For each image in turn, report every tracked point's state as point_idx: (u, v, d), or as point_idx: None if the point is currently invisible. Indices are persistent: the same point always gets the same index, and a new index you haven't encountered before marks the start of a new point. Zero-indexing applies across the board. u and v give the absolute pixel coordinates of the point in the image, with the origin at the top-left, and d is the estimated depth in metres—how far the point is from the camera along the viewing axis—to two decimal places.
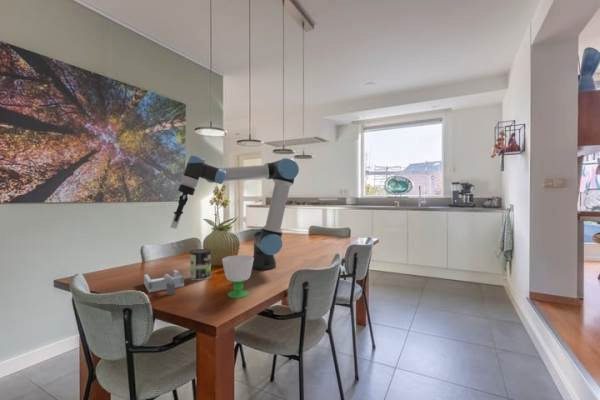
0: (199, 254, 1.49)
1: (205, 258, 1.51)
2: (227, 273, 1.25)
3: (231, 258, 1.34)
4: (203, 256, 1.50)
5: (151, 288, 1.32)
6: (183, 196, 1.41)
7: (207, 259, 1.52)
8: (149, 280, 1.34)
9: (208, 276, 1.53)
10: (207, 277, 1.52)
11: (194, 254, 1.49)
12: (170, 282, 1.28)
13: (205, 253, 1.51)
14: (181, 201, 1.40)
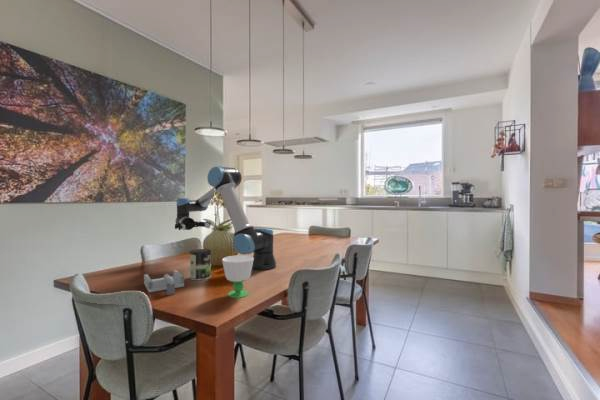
0: (199, 254, 1.49)
1: (205, 258, 1.51)
2: (227, 273, 1.25)
3: (231, 258, 1.34)
4: (203, 256, 1.50)
5: (151, 288, 1.32)
6: None
7: (207, 259, 1.52)
8: (149, 280, 1.34)
9: (208, 276, 1.53)
10: (207, 277, 1.52)
11: (194, 254, 1.49)
12: (170, 282, 1.28)
13: (205, 253, 1.51)
14: None
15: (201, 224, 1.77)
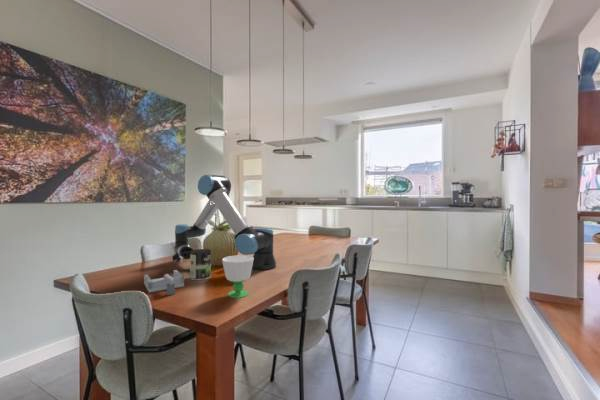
0: (199, 254, 1.49)
1: (205, 258, 1.51)
2: (227, 273, 1.25)
3: (231, 258, 1.34)
4: (203, 256, 1.50)
5: (151, 288, 1.32)
6: None
7: (207, 259, 1.52)
8: (149, 280, 1.34)
9: (208, 276, 1.53)
10: (207, 277, 1.52)
11: (194, 254, 1.49)
12: (170, 282, 1.28)
13: (205, 253, 1.51)
14: None
15: None
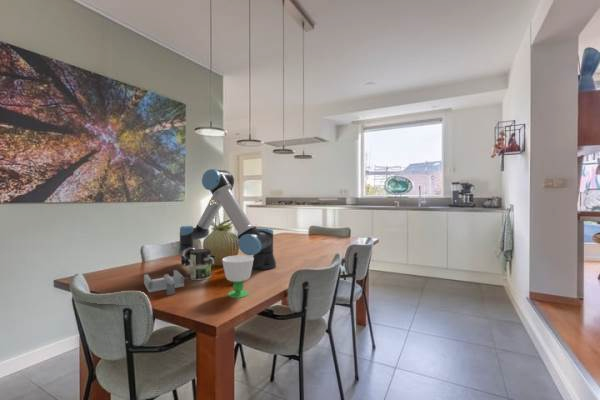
0: (199, 254, 1.49)
1: (205, 258, 1.51)
2: (227, 273, 1.25)
3: (231, 258, 1.34)
4: (203, 256, 1.50)
5: (151, 288, 1.32)
6: (181, 259, 1.60)
7: (207, 259, 1.52)
8: (149, 280, 1.34)
9: (208, 276, 1.53)
10: (207, 277, 1.52)
11: (194, 254, 1.49)
12: (170, 282, 1.28)
13: (205, 253, 1.50)
14: None
15: None
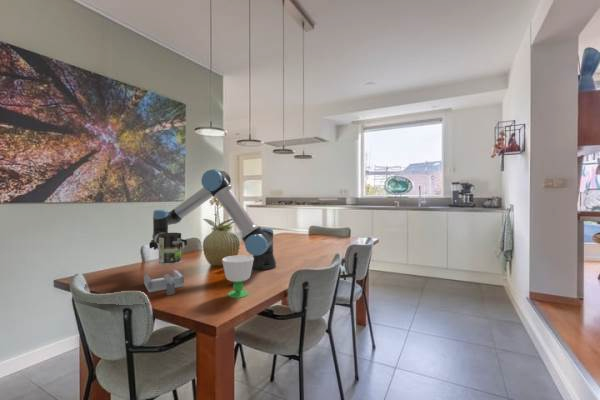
0: (167, 237, 1.40)
1: (174, 241, 1.41)
2: (227, 273, 1.25)
3: (231, 258, 1.34)
4: (172, 239, 1.41)
5: (151, 288, 1.32)
6: None
7: (176, 242, 1.42)
8: (149, 280, 1.34)
9: (178, 261, 1.43)
10: (176, 262, 1.43)
11: (162, 237, 1.40)
12: (170, 282, 1.28)
13: (174, 236, 1.41)
14: None
15: None
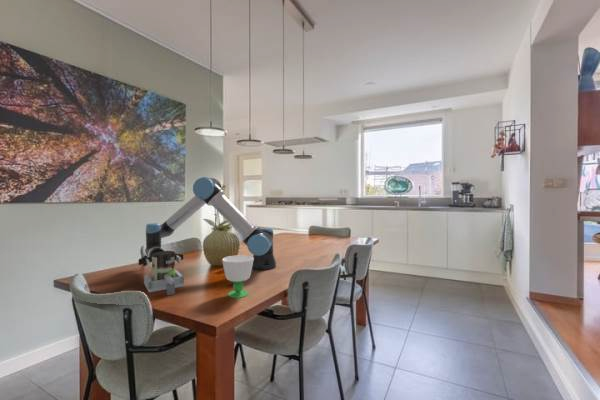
0: (160, 257, 1.37)
1: (168, 261, 1.38)
2: (227, 273, 1.25)
3: (231, 258, 1.34)
4: (165, 259, 1.38)
5: (151, 288, 1.32)
6: None
7: (170, 262, 1.39)
8: (149, 280, 1.34)
9: None
10: None
11: (155, 256, 1.37)
12: (170, 282, 1.28)
13: (168, 255, 1.38)
14: None
15: None
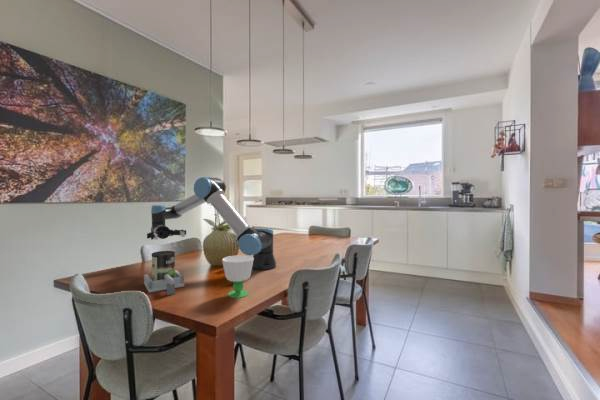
0: (160, 257, 1.37)
1: (168, 261, 1.38)
2: (227, 273, 1.25)
3: (231, 258, 1.34)
4: (165, 259, 1.38)
5: (151, 288, 1.32)
6: None
7: (170, 262, 1.39)
8: (149, 280, 1.34)
9: None
10: None
11: (155, 256, 1.37)
12: (170, 282, 1.28)
13: (168, 255, 1.38)
14: None
15: (176, 232, 1.68)
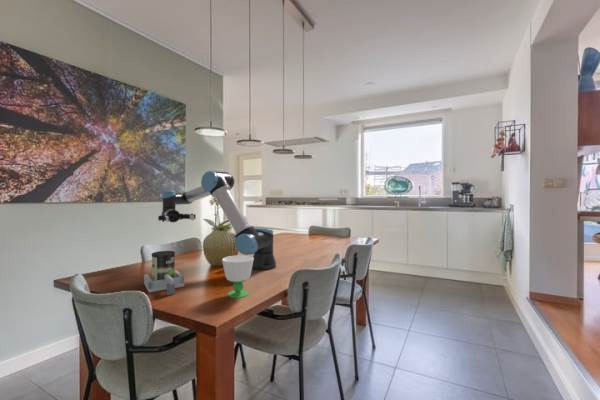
0: (160, 257, 1.37)
1: (168, 261, 1.38)
2: (227, 273, 1.25)
3: (231, 258, 1.34)
4: (165, 259, 1.37)
5: (151, 288, 1.32)
6: None
7: (170, 262, 1.39)
8: (149, 280, 1.34)
9: None
10: None
11: (155, 256, 1.37)
12: (170, 282, 1.28)
13: (167, 255, 1.38)
14: None
15: (186, 216, 1.74)
